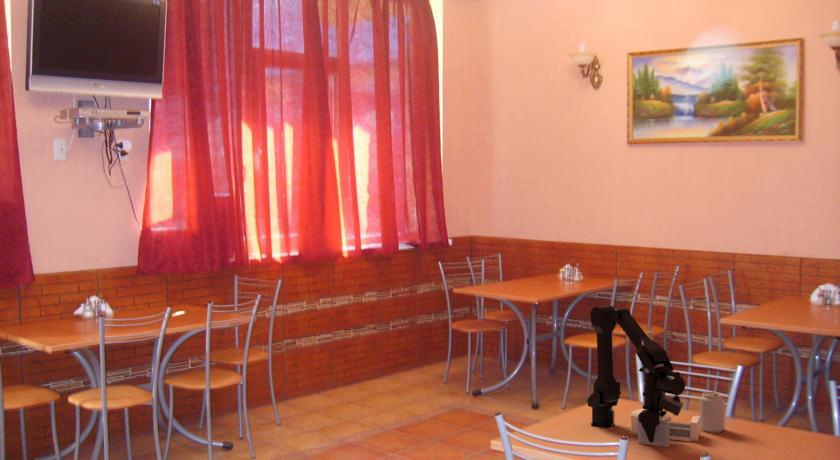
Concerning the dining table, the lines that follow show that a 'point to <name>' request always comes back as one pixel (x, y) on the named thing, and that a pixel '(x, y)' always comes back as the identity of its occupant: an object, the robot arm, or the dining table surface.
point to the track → (674, 428)
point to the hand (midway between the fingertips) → (653, 438)
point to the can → (712, 412)
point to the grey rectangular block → (656, 435)
